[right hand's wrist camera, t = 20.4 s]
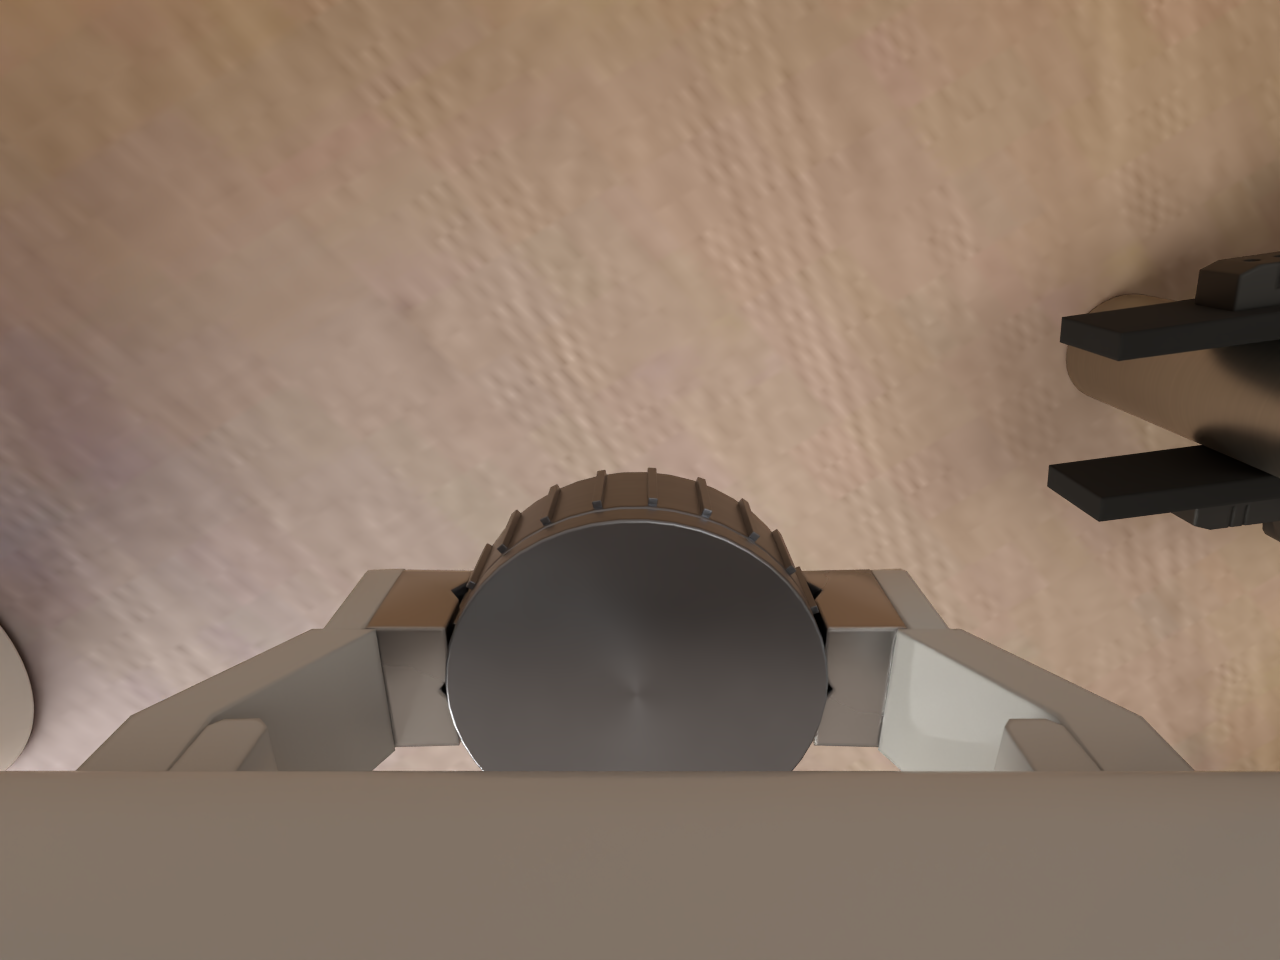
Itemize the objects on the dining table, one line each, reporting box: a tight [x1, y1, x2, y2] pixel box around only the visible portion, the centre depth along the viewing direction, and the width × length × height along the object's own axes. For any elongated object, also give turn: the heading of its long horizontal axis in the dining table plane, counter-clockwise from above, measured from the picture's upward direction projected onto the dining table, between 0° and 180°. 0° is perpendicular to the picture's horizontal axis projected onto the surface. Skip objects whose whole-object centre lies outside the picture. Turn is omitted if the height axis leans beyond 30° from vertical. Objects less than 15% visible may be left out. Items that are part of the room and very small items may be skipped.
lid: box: [445, 468, 828, 771], centre depth 9 cm, size 5×5×2 cm
